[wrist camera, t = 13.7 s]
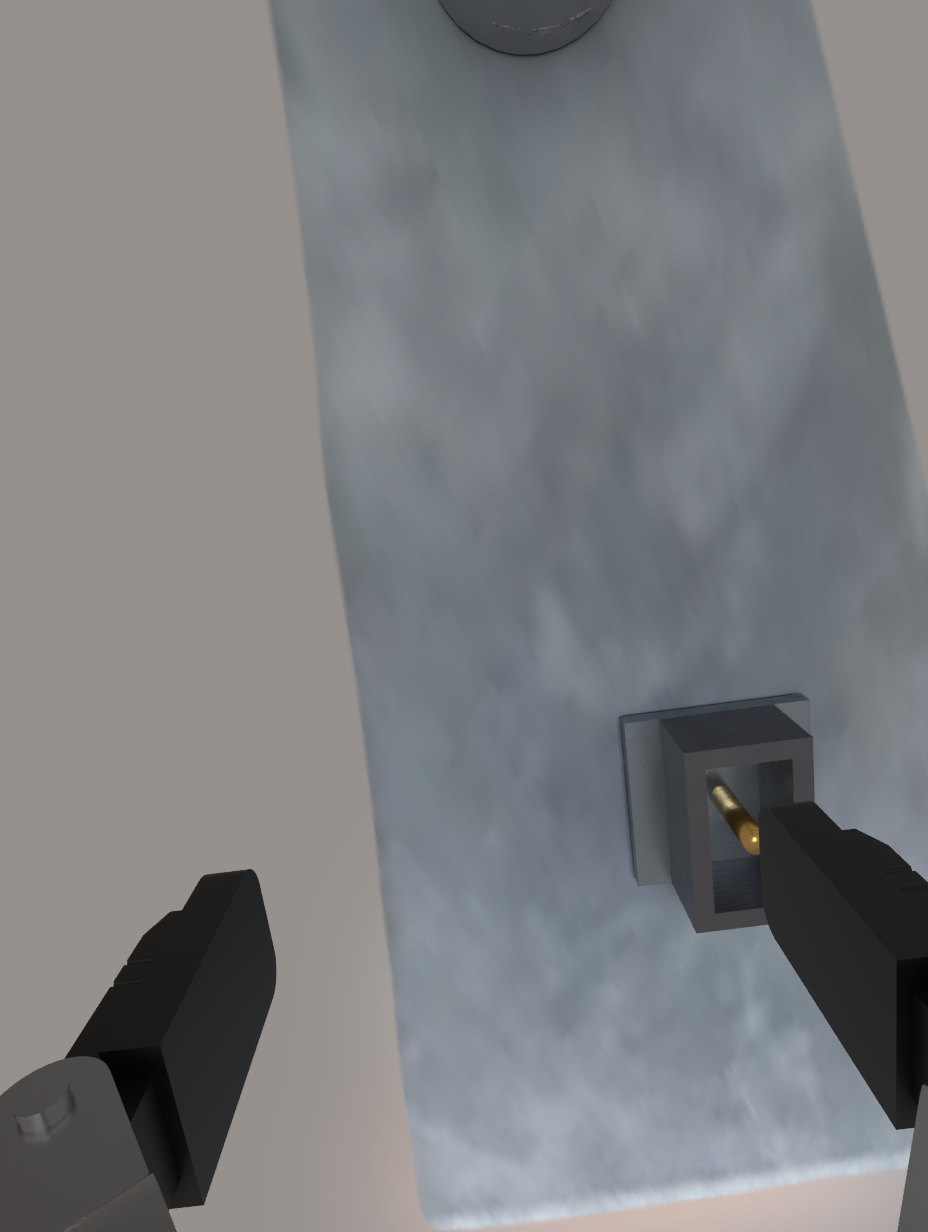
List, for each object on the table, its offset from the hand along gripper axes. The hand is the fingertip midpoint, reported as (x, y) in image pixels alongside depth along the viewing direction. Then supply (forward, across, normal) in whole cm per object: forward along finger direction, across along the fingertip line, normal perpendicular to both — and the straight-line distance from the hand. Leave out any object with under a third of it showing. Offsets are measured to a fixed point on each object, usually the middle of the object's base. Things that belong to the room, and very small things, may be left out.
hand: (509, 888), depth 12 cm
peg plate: (+28, -12, +14) cm, 34 cm away
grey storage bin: (+27, -12, +14) cm, 33 cm away
